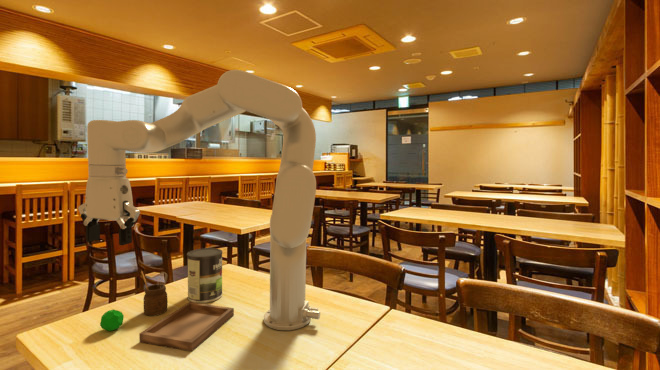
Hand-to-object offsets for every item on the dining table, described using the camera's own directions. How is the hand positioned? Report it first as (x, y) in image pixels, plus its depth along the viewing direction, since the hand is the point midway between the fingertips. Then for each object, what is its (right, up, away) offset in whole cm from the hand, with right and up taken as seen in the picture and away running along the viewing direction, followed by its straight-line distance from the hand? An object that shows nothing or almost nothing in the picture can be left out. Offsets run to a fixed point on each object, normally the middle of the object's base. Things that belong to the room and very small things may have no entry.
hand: (109, 242), depth 82 cm
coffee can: (+15, -21, +23) cm, 34 cm away
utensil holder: (+5, -22, +12) cm, 25 cm away
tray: (+19, -22, +3) cm, 29 cm away
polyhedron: (0, -22, +2) cm, 22 cm away
